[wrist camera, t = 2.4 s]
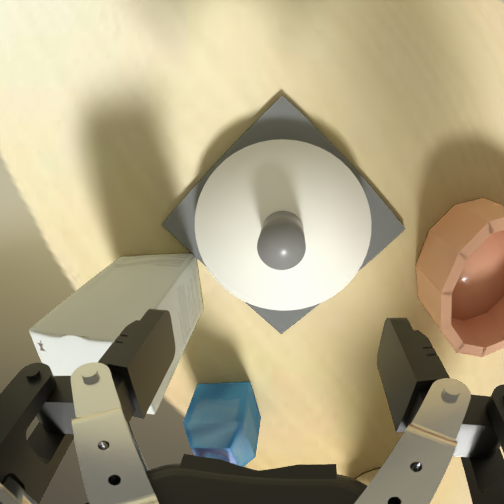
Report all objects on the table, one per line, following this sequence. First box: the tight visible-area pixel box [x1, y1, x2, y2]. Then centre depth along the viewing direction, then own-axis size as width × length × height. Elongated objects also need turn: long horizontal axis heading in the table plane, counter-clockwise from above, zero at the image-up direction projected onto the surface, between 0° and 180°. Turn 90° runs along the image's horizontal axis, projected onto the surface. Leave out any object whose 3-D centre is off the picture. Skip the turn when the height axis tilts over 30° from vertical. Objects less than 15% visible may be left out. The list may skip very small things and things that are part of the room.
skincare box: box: [29, 253, 204, 414], centre depth 23 cm, size 8×6×15 cm
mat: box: [162, 95, 406, 334], centre depth 27 cm, size 15×15×1 cm
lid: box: [195, 139, 372, 311], centre depth 24 cm, size 14×14×6 cm
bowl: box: [416, 198, 504, 357], centre depth 23 cm, size 13×13×6 cm
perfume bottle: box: [183, 381, 261, 467], centre depth 29 cm, size 6×6×12 cm
